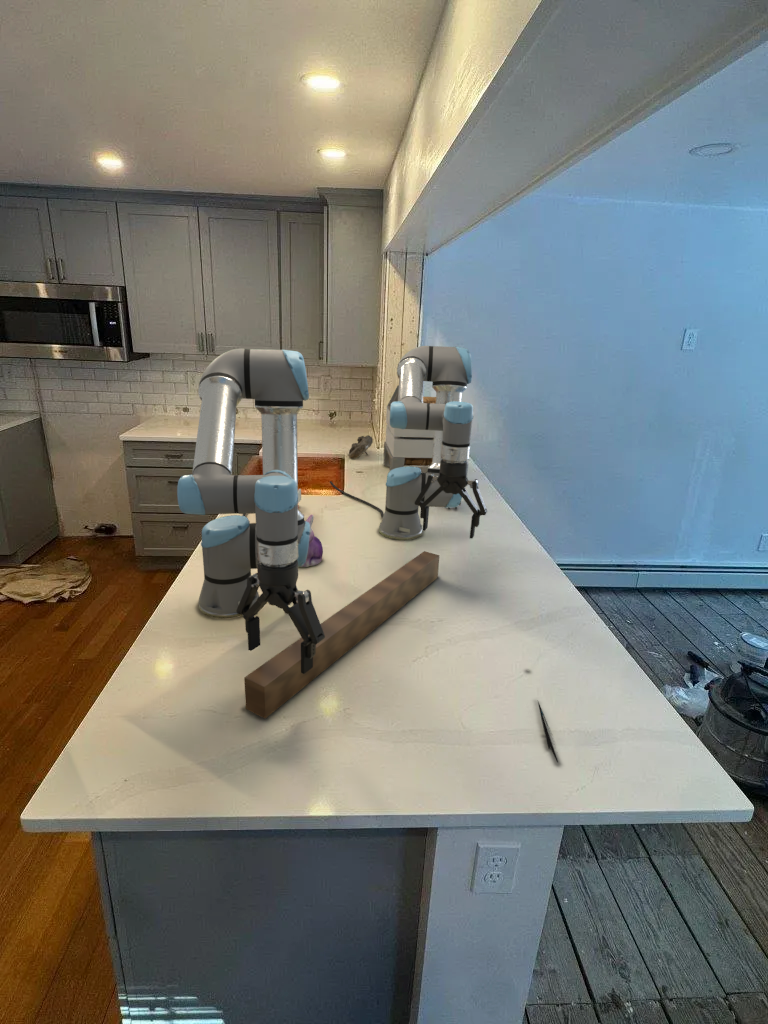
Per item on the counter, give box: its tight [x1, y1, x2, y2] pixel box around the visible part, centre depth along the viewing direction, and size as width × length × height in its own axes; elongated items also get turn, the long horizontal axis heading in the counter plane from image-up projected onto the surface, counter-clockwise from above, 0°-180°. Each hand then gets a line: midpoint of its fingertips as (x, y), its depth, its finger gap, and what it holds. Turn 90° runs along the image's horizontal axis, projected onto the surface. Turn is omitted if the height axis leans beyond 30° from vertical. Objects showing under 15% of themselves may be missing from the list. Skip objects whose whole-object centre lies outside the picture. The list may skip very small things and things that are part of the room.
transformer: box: [383, 384, 436, 472], centre depth 268 cm, size 34×33×41 cm
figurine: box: [301, 513, 324, 568], centre depth 172 cm, size 9×10×15 cm
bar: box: [243, 550, 440, 719], centre depth 138 cm, size 74×5×7 cm, turn 149°
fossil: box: [348, 435, 374, 460], centre depth 302 cm, size 22×10×15 cm
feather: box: [527, 669, 559, 763], centre depth 113 cm, size 2×28×2 cm
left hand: (279, 658), depth 112 cm, fingers open, 13 cm apart
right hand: (448, 533), depth 161 cm, fingers open, 13 cm apart
